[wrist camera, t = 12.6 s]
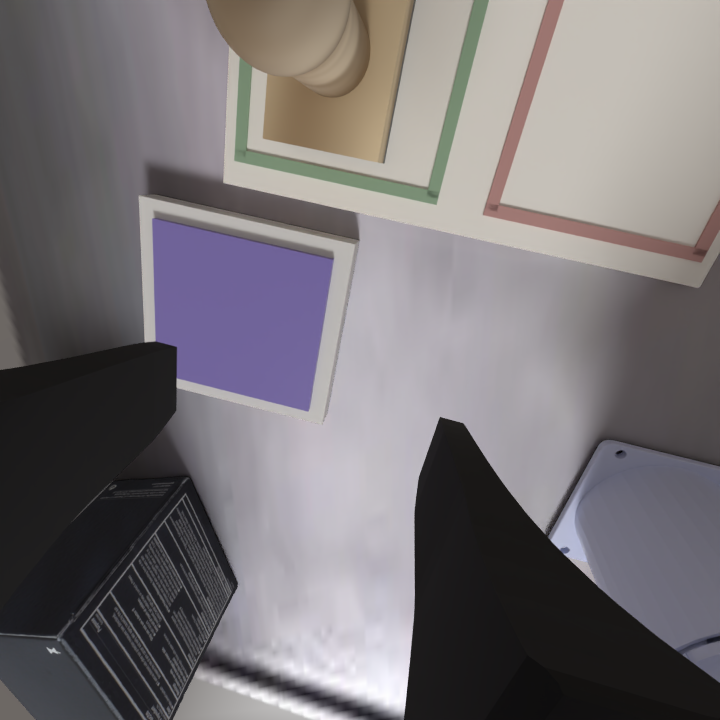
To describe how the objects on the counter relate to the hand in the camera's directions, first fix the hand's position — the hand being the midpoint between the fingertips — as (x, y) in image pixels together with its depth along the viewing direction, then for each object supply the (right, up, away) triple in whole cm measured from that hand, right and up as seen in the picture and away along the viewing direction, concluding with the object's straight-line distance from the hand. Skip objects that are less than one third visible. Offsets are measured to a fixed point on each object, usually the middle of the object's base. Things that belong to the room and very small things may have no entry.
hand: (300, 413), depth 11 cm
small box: (-11, -11, +19) cm, 25 cm away
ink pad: (-4, +4, +10) cm, 12 cm away
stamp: (+1, +13, +5) cm, 14 cm away
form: (+7, +12, +5) cm, 15 cm away
